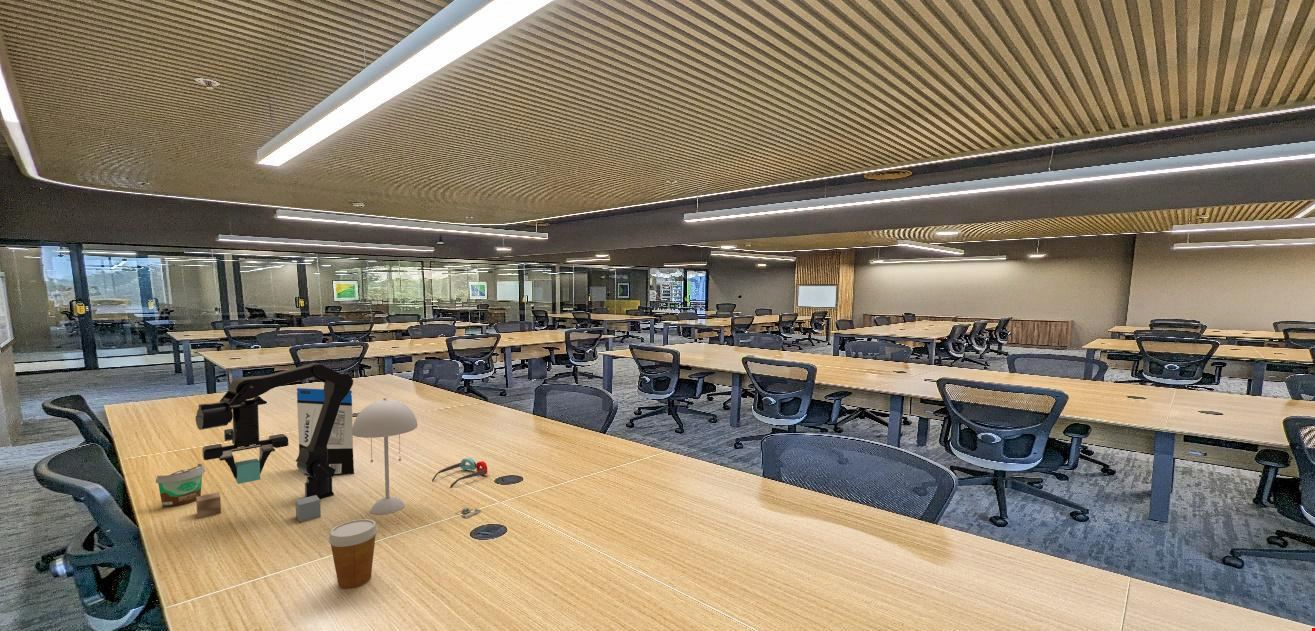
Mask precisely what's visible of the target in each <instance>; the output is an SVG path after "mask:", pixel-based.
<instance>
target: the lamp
mask: <svg viewBox="0 0 1315 631" xmlns="http://www.w3.org/2000/svg"><path fill="white" fill-rule="evenodd" d="M417 420H418V419H417V417H416V415H415V413H414V412H413V410H412V409H411V408H410V407H409V406H408V405H407V404H405V403H404V402H401V401H399V400H395V399H389V398H388V399H387V397H383V399H380V400H377V401H373V402H371V403H369V404H368V405H365V407H363V408H362V410H360V412H359V413H358V414H357V416H356V417H355V419H354V420H353V428H352V435H353V437H355V438H362V439H365V438H366V439H368V438H370V451H371V452H370V455H371V457H370V458H373V446H372V444H373V443H372V441H373V439H374V438H375V439H376V438H383V444H384V445H383V451H384V452H383V455H384V481H385V482H384V488H385V497H383V498H380V499H379V500H377V501H376V502H375V503H374V504H373V505H372V506H371V508H370V510H369V512H370V514H373V515H387V514H391V513H395V512H398V511H400V510H402V509H403V508H405V505H406V504H405V502H404V501H403V500H402V499H400V498H398V497H396V496H390V468H389V467H390V466H389V465H390V464H389V459H390V458H389V437H393V436H397V435H398V439H399V441H398V443H399V446H398V447H399V452H401V437H400V435H403V434H406V433H410V432H413V431H414V430H416V429H417V428H418V421H417ZM372 438H373V439H372ZM398 461H399V462H401V461H402V458H401V457H399V458H398ZM369 462H370V463H374V460H373V459H370V461H369Z"/></svg>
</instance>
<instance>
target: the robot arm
mask: <svg viewBox="0 0 1315 631" xmlns="http://www.w3.org/2000/svg"><path fill="white" fill-rule="evenodd" d="M311 378H315V379H317V380H318V381H320V382H322V383H323V384H324V385H323V389H324V397H325V399H324V403H323V406H322V409H321V412H320V415H319V418H318V421H317V424H316V427H315V430H314V433H313V436H312V439H311V442H310V444H309V445H308V446H307V447H306V448H305V449H302V448H301V449H300V450H299V449H298V456H297V457H296V459H295V462H296V468H297V469H298V470H299V471H300V472H301V473H302V474H304V476H306V482H305V483H304V495H305V498H306V497H310V496H314V495H317V497H318V498H319V499H322V498H327V497H331V496H334V495H335V493H334V492H333V477H335V476H334V473H335V469H333V468H332V467H330V466H329V465H327V460H328V452H327V444H328V441H329V438H330V435H331V432H332V428H333V425H334V422H335V419H336V416H337V413H338V410H339V407H340V404H341V402H342V400H343V399H344V398H345V397H346V396H347V395H348V393H349V391H351V389H352V387H353V386H354V379H353V377H352V376H351V375H350V374H348V373H344V372H338V371H336V370H333V369H332V368H329V367H326V366H325V365H323V364H322V363H317V362H310V363H308V364H306V365H302V366H298V367H294V368H291V369H290V368H289V369H285V370H282V371H278V372H275V373H270V374H266V375H253V376H251V375H250V376H245V377H244V376H242V377H237V378H235V379H233V380H232V381H231V382H230V383H229V385H228V390H227V391H226V392H225V394H224V395H222V397H221V399H220V400H219V402H212V403H201V404H198V409H197V410H196V415H195V423H196V427H197V429H198V430H200V431H204V430H208V429H212V428H220V427H225V426H228V424H229V423H232V428H229V429H228V428H226V429H224V430H223V435H224V436H223V437H224V438H223V439H224V442H228V441H231V443H232V444H230V445H224V446H223V445H222V443H217V444H216V443H215V444H210V445H205V446H204V447H202V449H201V450H202V458H203V461H209V460H215V459H219V461H220V462H221V461H224V462H225V463H226V464H227V465H228V467H229V468H230V471H231V473H232V475H233V477H234V479H235V480H236V479H237V472H236V467H235V457H234V455H233V453H234V452H240V451H244V450H245V451H247V450H250V449H251V450H252V449H257V448H259V457H258V460H259V462H260V475H261V474H262V472H263V469H264V468H265V467H264V466H265V464H266V462H267V459H268V458H269V456H270V454H271V453H272V452H275V451H276V449H279V448H285V447H287V446H289V438H288V436H287V435H285V434H284V433H279V434H272V435H268V438H267V439H262V440H260V420H259V406H260V405H267V403H268V402H267V401H266V400H264V399H263V398H262V397H261V395H263V394H266V393H268V392H269V391H270V390H273V389H275V388H277V387H281V386H282V387H283V386H286V385H289V384H292V383H296V382H299V381H303V380H306V379H311Z"/></svg>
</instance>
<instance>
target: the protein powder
mask: <svg viewBox="0 0 1315 631" xmlns="http://www.w3.org/2000/svg"><path fill="white" fill-rule="evenodd" d="M352 393H353V392H352V390H350V391H349V393H348V395H347V396H346V397H345V398H344V399H343V400H342V402H341V404H340V407H339V410H338V413H337V416H336V419H335V422H334V425H333V428H332V432H331V435H330V438H329V441H328V444H327V452H328V460H327V465H329V466H330V467H332V468H333V469H335V473H334V476H333V477H335V476H336V477H337V476H338V477H339V476H347V475H354V474H355V468H354V466H355V463H354V445H353V444H354V441H353V440H354V439H353V438H354V436H353V435H352V428H353V424H354V420H353V395H352ZM296 399H297V400H296V403H297V404H296V406H297V427H298V428H297V429H298V451H299V450H300V449H301V448H302V449H305V448H306V447H307V446H308V445H309V444H310V442H311V439H312V436H313V433H314V430H315V427H316V424H317V421H318V418H319V415H320V412H321V409H322V406H323V403H324V399H325V397H324V388H301V387H297V388H296Z"/></svg>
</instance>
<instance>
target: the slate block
mask: <svg viewBox="0 0 1315 631" xmlns="http://www.w3.org/2000/svg"><path fill="white" fill-rule="evenodd" d="M321 513H322V512H321V498H318V497H317V495H314V496H310V497H306V496H305V497H303V498H299V499H295V517H296V519H297V520H298V522H299V523H301V522H306V521H308V520H309V521H310V520H314V519H317V518H321V517H322V514H321Z"/></svg>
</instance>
